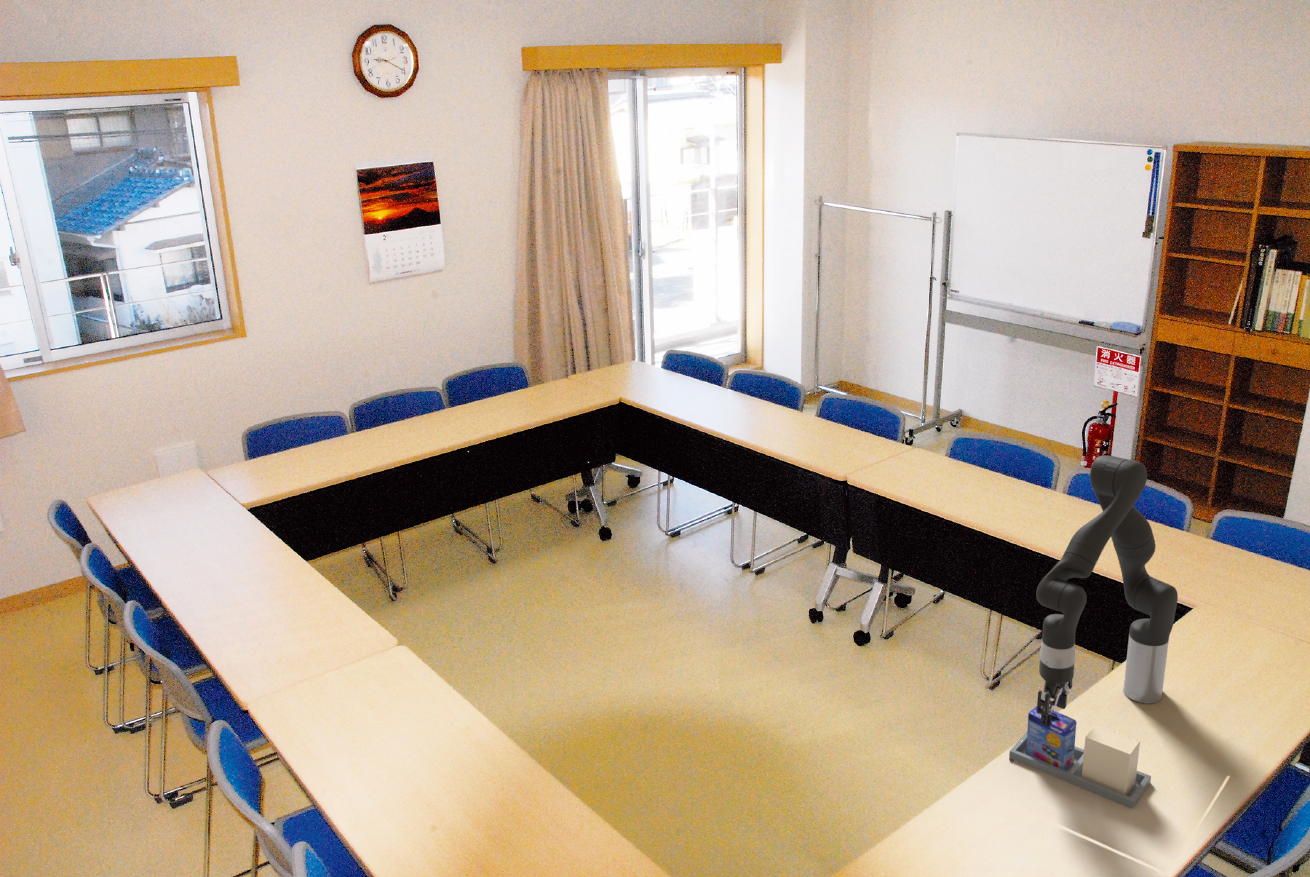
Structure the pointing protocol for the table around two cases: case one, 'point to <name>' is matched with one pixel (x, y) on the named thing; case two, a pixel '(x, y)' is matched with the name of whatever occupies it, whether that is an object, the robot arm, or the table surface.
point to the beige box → (1110, 759)
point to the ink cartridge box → (1051, 739)
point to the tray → (1080, 774)
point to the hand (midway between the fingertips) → (1053, 716)
